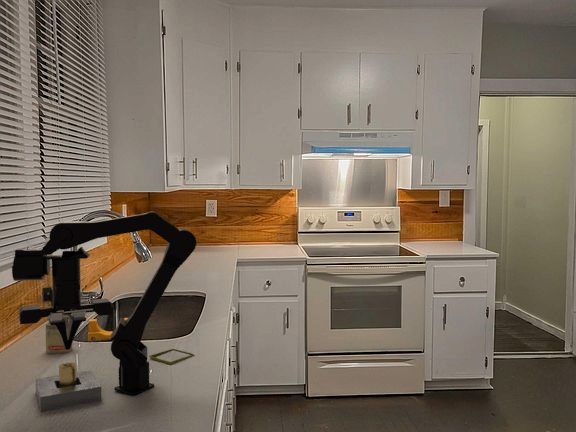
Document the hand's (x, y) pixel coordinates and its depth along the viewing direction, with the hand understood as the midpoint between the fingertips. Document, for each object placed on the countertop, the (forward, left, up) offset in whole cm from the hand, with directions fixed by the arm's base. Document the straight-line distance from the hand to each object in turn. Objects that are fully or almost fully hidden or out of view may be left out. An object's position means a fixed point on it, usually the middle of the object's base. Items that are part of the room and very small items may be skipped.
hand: (67, 349), depth 116 cm
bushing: (0, 0, -10) cm, 10 cm away
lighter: (+30, -20, -11) cm, 38 cm away
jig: (0, 0, -10) cm, 11 cm away
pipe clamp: (+27, -35, -11) cm, 45 cm away
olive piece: (-3, -30, -11) cm, 32 cm away
